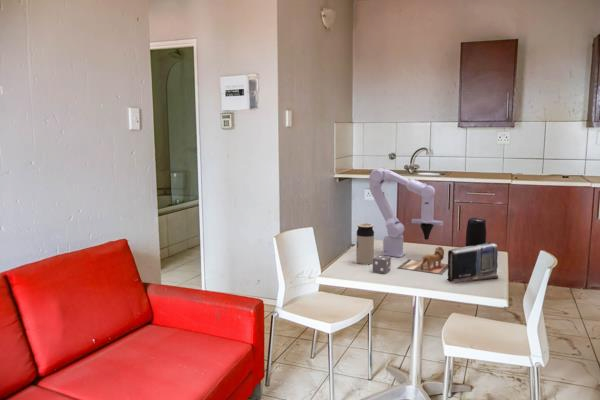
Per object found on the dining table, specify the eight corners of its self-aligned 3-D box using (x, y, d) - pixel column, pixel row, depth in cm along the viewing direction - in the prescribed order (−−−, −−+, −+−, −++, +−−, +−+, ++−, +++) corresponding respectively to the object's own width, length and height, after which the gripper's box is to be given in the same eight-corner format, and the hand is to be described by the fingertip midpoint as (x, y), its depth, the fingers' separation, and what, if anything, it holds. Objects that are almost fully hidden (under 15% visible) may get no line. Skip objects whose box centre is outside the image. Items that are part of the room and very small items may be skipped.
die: (372, 272, 220) (372, 258, 219) (377, 268, 225) (377, 255, 224) (385, 273, 217) (386, 260, 216) (390, 270, 222) (390, 257, 221)
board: (396, 268, 225) (397, 267, 225) (408, 259, 240) (408, 259, 240) (441, 274, 215) (441, 274, 215) (451, 265, 230) (451, 264, 230)
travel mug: (374, 260, 238) (374, 223, 236) (372, 265, 231) (373, 226, 228) (357, 259, 240) (357, 222, 237) (355, 264, 232) (355, 226, 230)
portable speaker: (488, 259, 239) (490, 219, 236) (477, 262, 233) (479, 221, 230) (472, 255, 246) (474, 216, 243) (461, 259, 240) (463, 218, 237)
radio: (448, 283, 203) (450, 247, 201) (439, 277, 212) (440, 242, 210) (501, 280, 207) (503, 245, 205) (490, 274, 216) (492, 240, 214)
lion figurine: (436, 264, 231) (437, 245, 230) (446, 266, 227) (447, 247, 226) (417, 270, 222) (417, 250, 220) (427, 272, 217) (427, 252, 216)
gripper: (410, 211, 239) (409, 239, 241) (440, 213, 232) (439, 242, 234) (414, 209, 245) (413, 236, 247) (444, 211, 238) (443, 239, 240)
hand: (426, 239), depth 241 cm, fingers closed
